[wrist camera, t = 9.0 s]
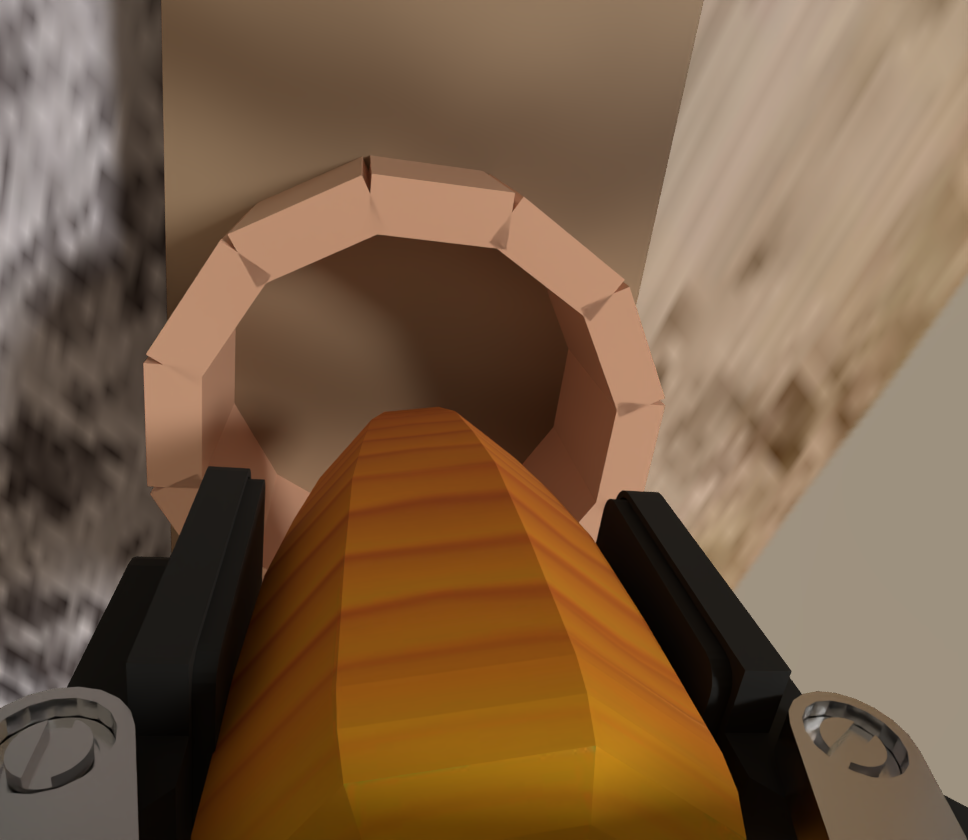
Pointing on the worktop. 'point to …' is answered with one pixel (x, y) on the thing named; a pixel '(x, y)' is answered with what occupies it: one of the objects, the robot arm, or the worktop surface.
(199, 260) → the walnut board
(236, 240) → the terracotta cup
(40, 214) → the worktop surface
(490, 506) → the carrot
